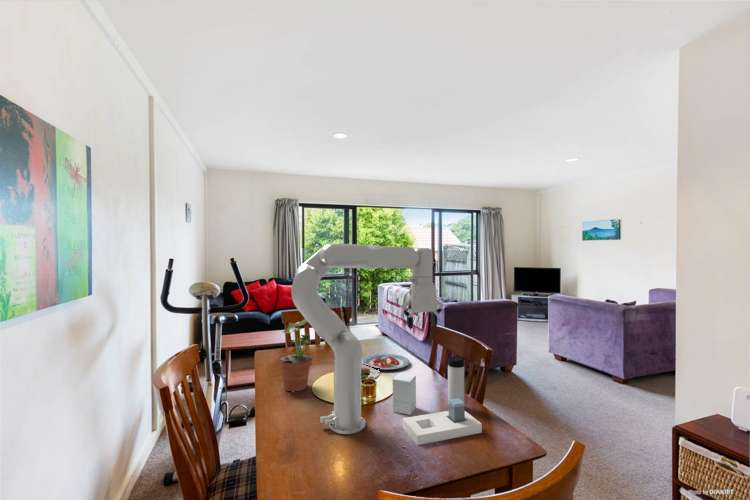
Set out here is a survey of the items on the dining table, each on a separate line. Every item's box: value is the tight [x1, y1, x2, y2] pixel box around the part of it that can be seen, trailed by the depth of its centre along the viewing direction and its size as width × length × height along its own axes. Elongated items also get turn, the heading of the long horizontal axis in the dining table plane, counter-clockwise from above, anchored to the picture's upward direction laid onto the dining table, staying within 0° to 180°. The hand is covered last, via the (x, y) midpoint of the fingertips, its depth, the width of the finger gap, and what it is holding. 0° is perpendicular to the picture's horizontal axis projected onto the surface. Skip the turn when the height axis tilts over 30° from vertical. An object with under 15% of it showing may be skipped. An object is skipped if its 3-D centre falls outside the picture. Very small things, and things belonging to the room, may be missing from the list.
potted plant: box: [279, 318, 313, 392], centre depth 156 cm, size 16×15×35 cm
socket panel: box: [401, 410, 483, 446], centre depth 118 cm, size 24×12×3 cm, turn 109°
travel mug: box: [447, 355, 466, 409], centre depth 135 cm, size 6×7×20 cm
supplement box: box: [391, 372, 417, 416], centre depth 134 cm, size 7×7×13 cm
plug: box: [448, 398, 466, 423], centre depth 120 cm, size 4×4×9 cm
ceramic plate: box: [362, 353, 410, 371], centre depth 188 cm, size 26×26×3 cm
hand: (422, 326), depth 128 cm, fingers open, 9 cm apart
